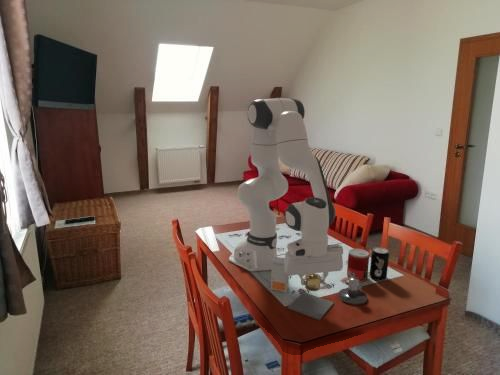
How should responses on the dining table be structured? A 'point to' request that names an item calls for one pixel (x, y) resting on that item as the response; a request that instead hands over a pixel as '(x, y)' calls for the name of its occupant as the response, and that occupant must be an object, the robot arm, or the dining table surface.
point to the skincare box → (279, 275)
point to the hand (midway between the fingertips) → (312, 283)
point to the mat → (311, 305)
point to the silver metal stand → (353, 293)
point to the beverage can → (379, 263)
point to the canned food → (358, 264)
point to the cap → (313, 282)
